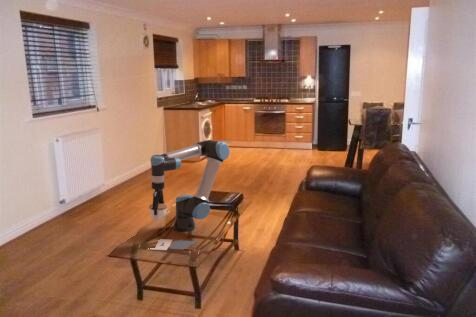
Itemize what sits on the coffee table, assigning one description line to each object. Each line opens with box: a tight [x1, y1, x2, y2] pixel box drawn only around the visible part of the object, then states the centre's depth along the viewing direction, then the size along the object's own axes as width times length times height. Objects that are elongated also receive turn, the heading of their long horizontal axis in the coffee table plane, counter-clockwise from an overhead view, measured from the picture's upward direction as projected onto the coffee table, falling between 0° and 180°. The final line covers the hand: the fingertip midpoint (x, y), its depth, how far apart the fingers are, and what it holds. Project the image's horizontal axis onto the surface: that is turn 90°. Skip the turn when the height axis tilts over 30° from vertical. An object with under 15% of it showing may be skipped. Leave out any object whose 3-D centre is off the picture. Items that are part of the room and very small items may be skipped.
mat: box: [169, 239, 197, 251], centre depth 255 cm, size 14×14×1 cm
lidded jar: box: [148, 203, 168, 221], centre depth 253 cm, size 11×11×9 cm
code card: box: [147, 238, 173, 251], centre depth 256 cm, size 17×14×1 cm
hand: (158, 216), depth 253 cm, fingers closed on lidded jar, 11 cm apart
